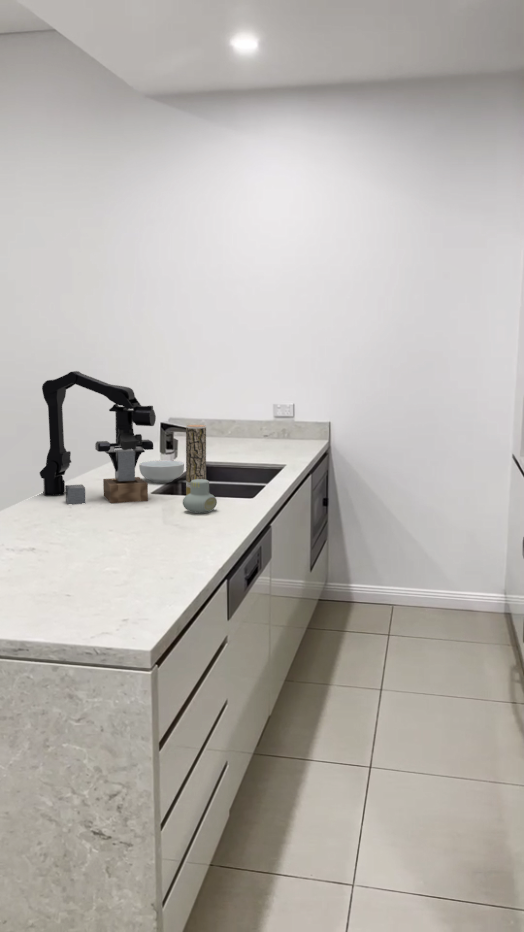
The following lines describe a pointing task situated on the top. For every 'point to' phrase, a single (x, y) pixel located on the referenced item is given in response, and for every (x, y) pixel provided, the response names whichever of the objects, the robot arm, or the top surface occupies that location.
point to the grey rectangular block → (125, 465)
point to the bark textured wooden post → (195, 454)
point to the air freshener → (199, 497)
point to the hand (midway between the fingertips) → (124, 470)
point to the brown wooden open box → (125, 490)
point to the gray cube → (75, 494)
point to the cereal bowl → (161, 470)
